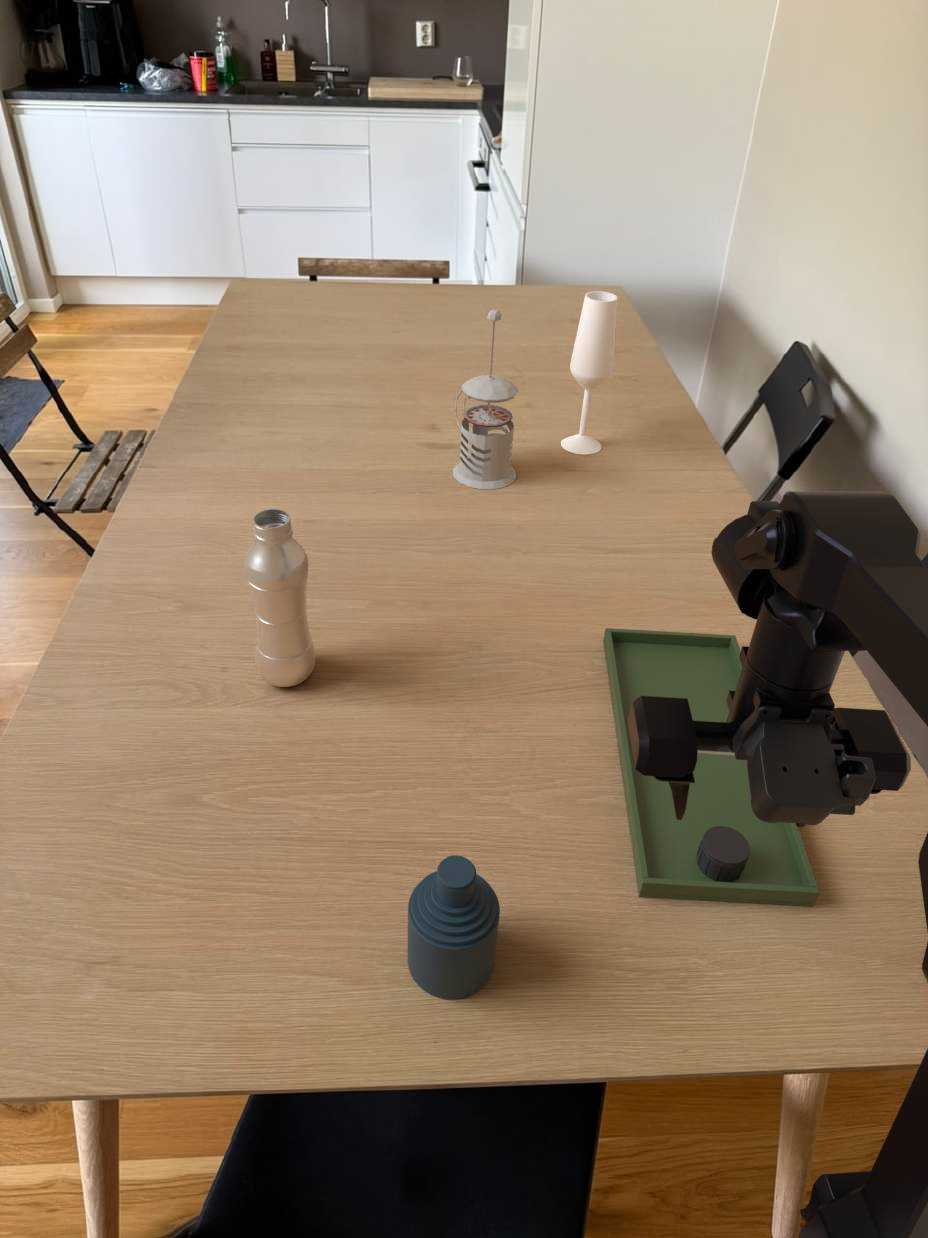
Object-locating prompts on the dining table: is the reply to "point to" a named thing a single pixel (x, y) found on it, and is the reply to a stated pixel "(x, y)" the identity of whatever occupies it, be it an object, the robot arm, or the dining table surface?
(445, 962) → the flask
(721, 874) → the flask cap
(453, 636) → the dining table surface
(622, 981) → the dining table surface
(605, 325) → the champagne flute
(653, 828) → the tray
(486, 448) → the french press
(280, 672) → the plastic bottle
